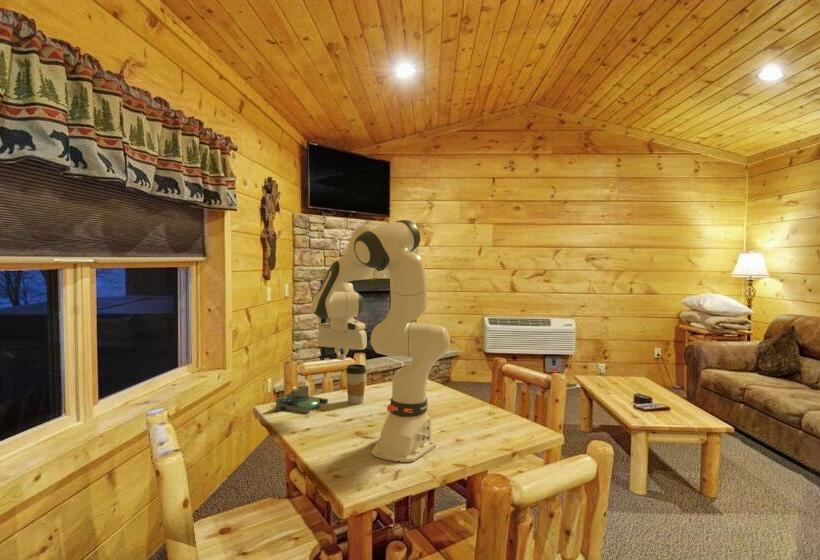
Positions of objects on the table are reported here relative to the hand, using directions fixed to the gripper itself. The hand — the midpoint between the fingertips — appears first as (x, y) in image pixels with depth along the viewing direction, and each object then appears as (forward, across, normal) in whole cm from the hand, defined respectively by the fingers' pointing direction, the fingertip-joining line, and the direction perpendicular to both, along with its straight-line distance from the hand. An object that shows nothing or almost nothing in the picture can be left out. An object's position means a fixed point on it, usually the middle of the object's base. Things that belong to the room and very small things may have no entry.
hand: (341, 359), depth 175 cm
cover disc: (+20, -16, 0) cm, 26 cm away
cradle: (+20, -17, 0) cm, 26 cm away
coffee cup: (+20, -1, +14) cm, 24 cm away
